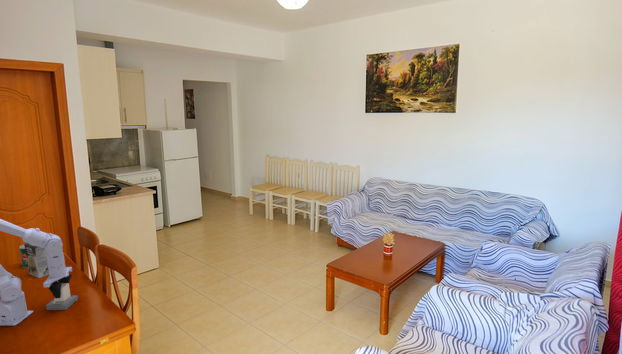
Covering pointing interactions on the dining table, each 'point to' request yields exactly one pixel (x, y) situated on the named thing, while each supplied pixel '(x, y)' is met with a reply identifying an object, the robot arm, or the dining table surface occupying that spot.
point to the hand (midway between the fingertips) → (61, 295)
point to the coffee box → (36, 260)
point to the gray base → (62, 303)
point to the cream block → (64, 292)
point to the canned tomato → (23, 256)
